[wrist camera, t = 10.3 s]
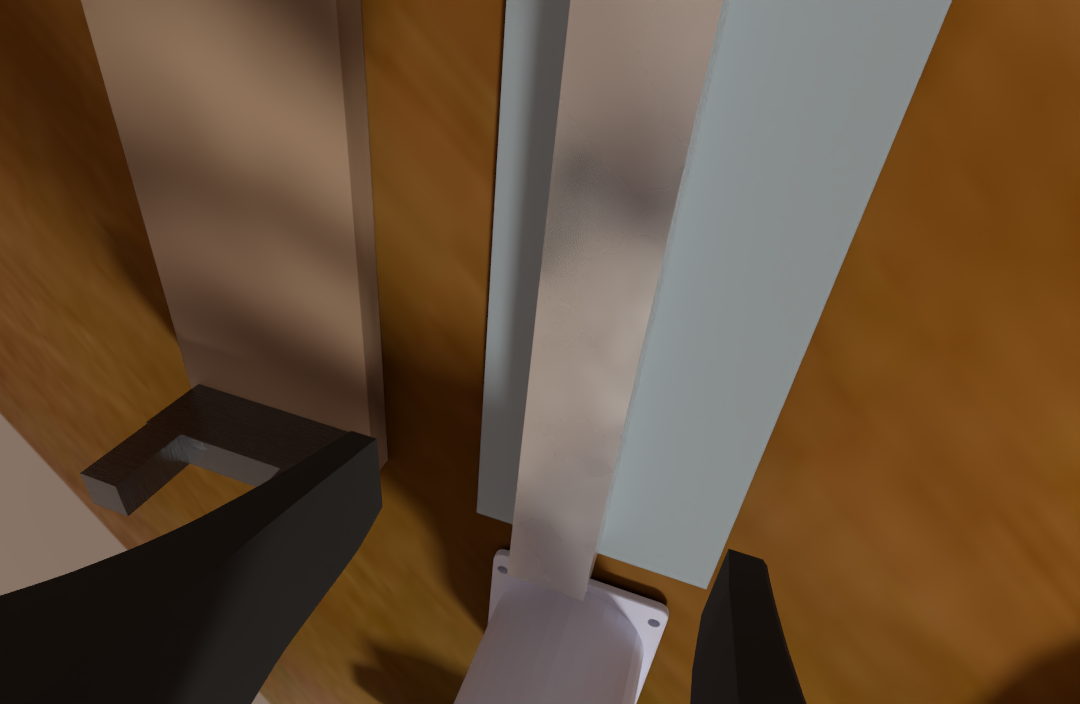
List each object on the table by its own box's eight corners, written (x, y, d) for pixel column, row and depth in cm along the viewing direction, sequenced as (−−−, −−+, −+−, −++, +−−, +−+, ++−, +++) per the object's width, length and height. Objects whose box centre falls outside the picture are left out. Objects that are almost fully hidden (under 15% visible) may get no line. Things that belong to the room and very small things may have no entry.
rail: (601, 539, 25) (582, 601, 23) (532, 517, 26) (507, 574, 23) (765, -148, 13) (762, -172, 10) (624, -160, 13) (590, -186, 11)
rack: (387, 460, 27) (287, 588, 22) (219, 405, 29) (87, 510, 24) (349, -189, 15) (93, -274, 9) (60, -212, 17) (-296, -296, 11)
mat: (707, 581, 25) (706, 589, 25) (480, 505, 27) (476, 512, 27) (1030, -202, 11) (1038, -207, 11) (526, -233, 14) (519, -238, 13)
